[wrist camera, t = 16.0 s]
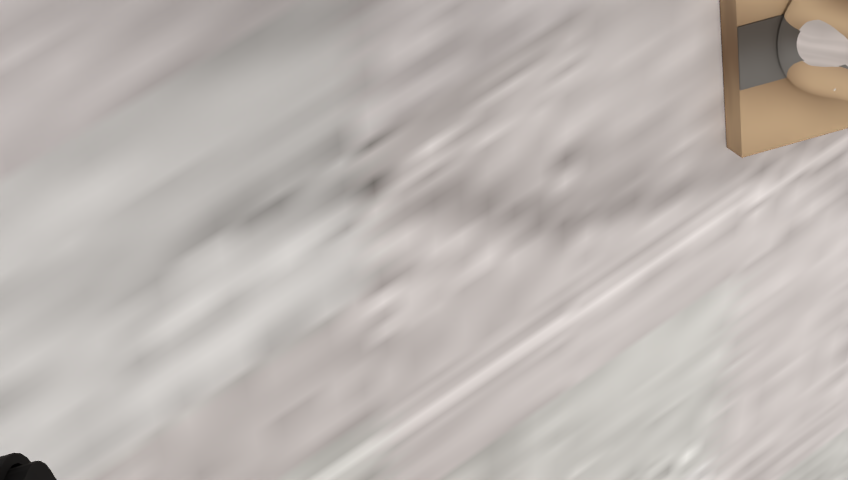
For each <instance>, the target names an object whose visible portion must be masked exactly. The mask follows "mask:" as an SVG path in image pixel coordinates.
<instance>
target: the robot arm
mask: <svg viewBox="0 0 848 480" xmlns="http://www.w3.org/2000/svg"><path fill="white" fill-rule="evenodd" d="M0 480H56V478H55V477H54V475H53V473H52V472H51V470H50V469H49V468H48V466H47V465H46V464H45V463H43V462H42V461H34V462H30V461H29V459H28V458H27V457H25V456H24V455H22V454H21V453H12V454H8V455H5V456H1V457H0Z"/></svg>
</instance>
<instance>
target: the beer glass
mask: <svg viewBox="0 0 848 480" xmlns="http://www.w3.org/2000/svg"><path fill="white" fill-rule="evenodd" d="M777 53H778V59H779V63H780V66H781V68H782V71H783V72H784V74H785V76H786V77H787V78H788V80H789V81H790V82H791V83H792V84H793V85H794V86H796V87H797V88H799V89H800V90H802V91H804V92H806V93H809V94H812V95H816V96H821V97H827V98H834V99H840V100H845V101H848V0H792V1H791V2H790V4H789V6H788V8H787V9H786V11H785V14H784V16H783V18H782V21H781V24H780V28H779V32H778V39H777Z"/></svg>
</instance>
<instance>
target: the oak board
mask: <svg viewBox="0 0 848 480" xmlns="http://www.w3.org/2000/svg"><path fill="white" fill-rule="evenodd" d="M791 1H792V0H720V16H721V36H722V57H723V78H724V99H725V119H726V140H727V148H729V149H730V150H732V151H733V152H734V153H736V154H737V155H739V156H740V157H742V158H743V157H746V156H750V155H753V154H757V153H761V152H764V151H768V150H771V149H775V148H778V147H782V146H786V145H789V144H793V143H796V142H800V141H803V140H807V139H810V138H814V137H818V136H821V135H825V134H828V133H832V132H835V131H839V130H843V129H846V128H848V101H845V100H840V99H834V98H827V97H821V96H816V95H812V94H809V93H806V92H804V91H802V90H800V89H799V88H797V87H796V86H794V85H793V84H792V83H791V82H790V81H789V80H788V78H787V77H786V76H785V74H784V72H783V71H782V68H781V66H780V63H779V59H778V53H777V39H778V32H779V28H780V24H781V21H782V18H783V16H784V14H785V11H786V9H787V8H788V6H789V4H790V2H791Z"/></svg>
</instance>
